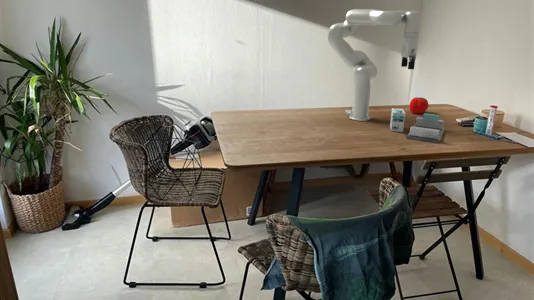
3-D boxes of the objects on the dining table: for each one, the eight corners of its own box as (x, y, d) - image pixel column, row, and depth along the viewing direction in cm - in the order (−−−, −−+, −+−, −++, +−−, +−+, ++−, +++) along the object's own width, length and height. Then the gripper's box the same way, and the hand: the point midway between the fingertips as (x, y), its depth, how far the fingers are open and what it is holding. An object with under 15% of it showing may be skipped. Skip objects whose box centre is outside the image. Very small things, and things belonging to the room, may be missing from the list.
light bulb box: (403, 132, 231) (405, 113, 228) (390, 131, 233) (392, 112, 229) (401, 127, 241) (404, 108, 238) (389, 126, 242) (391, 107, 239)
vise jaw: (415, 125, 238) (416, 114, 236) (417, 122, 243) (418, 112, 241) (442, 128, 233) (443, 118, 231) (443, 126, 238) (444, 115, 236)
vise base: (406, 138, 221) (407, 127, 219) (414, 126, 242) (415, 116, 240) (439, 143, 215) (441, 132, 213) (444, 130, 236) (445, 120, 234)
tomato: (403, 111, 274) (405, 96, 270) (418, 110, 279) (420, 94, 276) (416, 116, 264) (419, 99, 261) (431, 114, 270) (434, 98, 266)
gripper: (398, 34, 235) (395, 65, 241) (410, 36, 219) (406, 70, 225) (411, 34, 236) (408, 65, 241) (424, 36, 219) (420, 70, 225)
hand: (407, 67), depth 233 cm, fingers open, 9 cm apart
